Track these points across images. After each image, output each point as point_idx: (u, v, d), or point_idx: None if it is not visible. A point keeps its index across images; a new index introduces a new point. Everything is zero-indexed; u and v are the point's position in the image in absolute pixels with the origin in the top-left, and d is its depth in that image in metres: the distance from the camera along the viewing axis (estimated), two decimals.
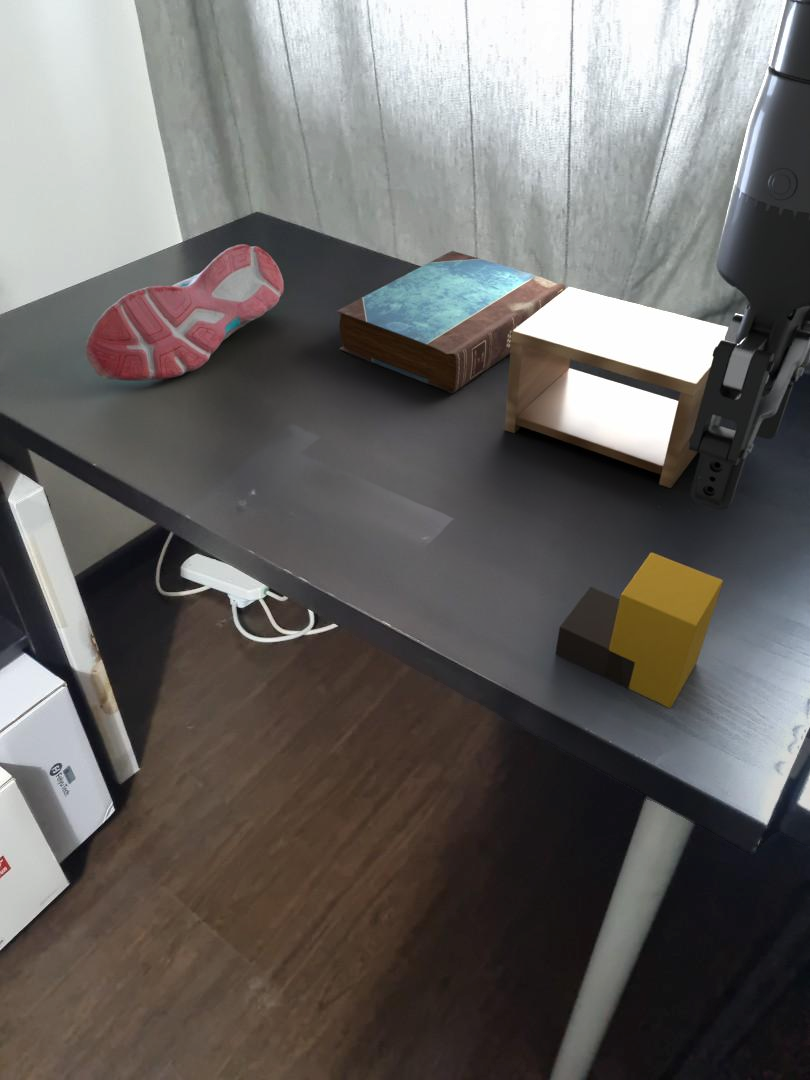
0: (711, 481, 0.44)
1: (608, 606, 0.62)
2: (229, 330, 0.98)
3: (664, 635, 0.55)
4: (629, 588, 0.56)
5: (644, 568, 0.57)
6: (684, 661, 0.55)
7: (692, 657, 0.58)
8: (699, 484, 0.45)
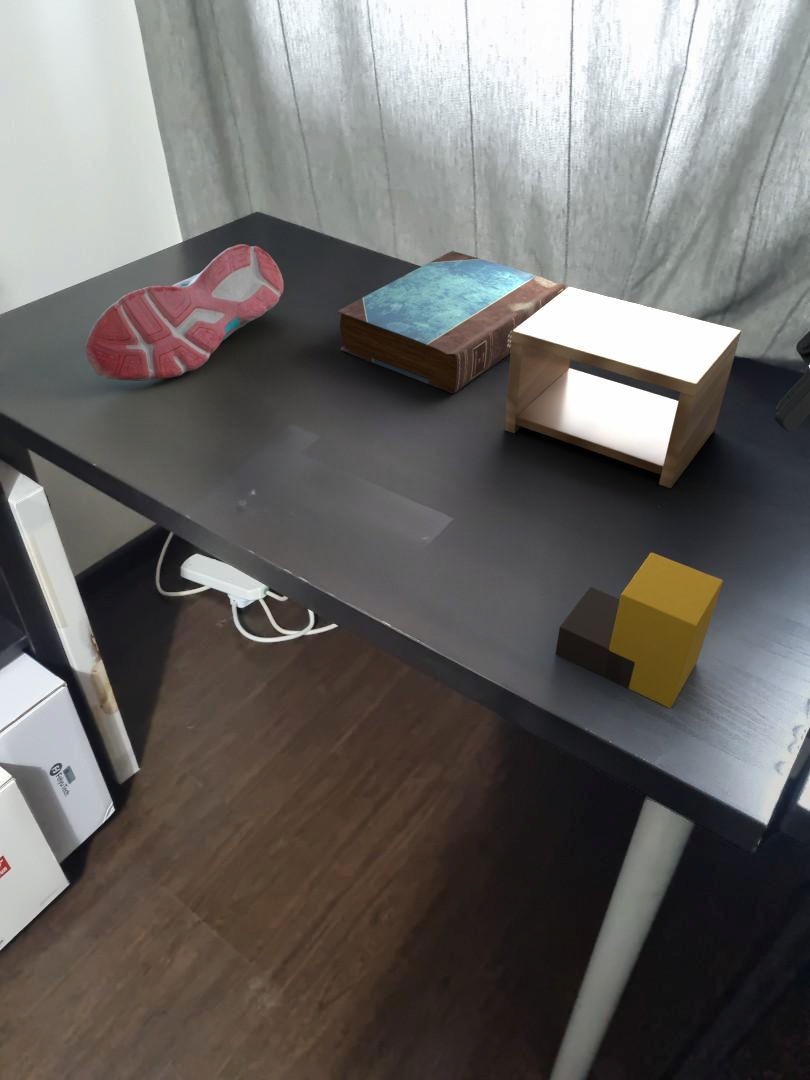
0: (792, 395, 0.58)
1: (608, 606, 0.62)
2: (229, 330, 0.99)
3: (664, 635, 0.55)
4: (629, 588, 0.56)
5: (644, 568, 0.57)
6: (684, 661, 0.55)
7: (692, 657, 0.58)
8: None
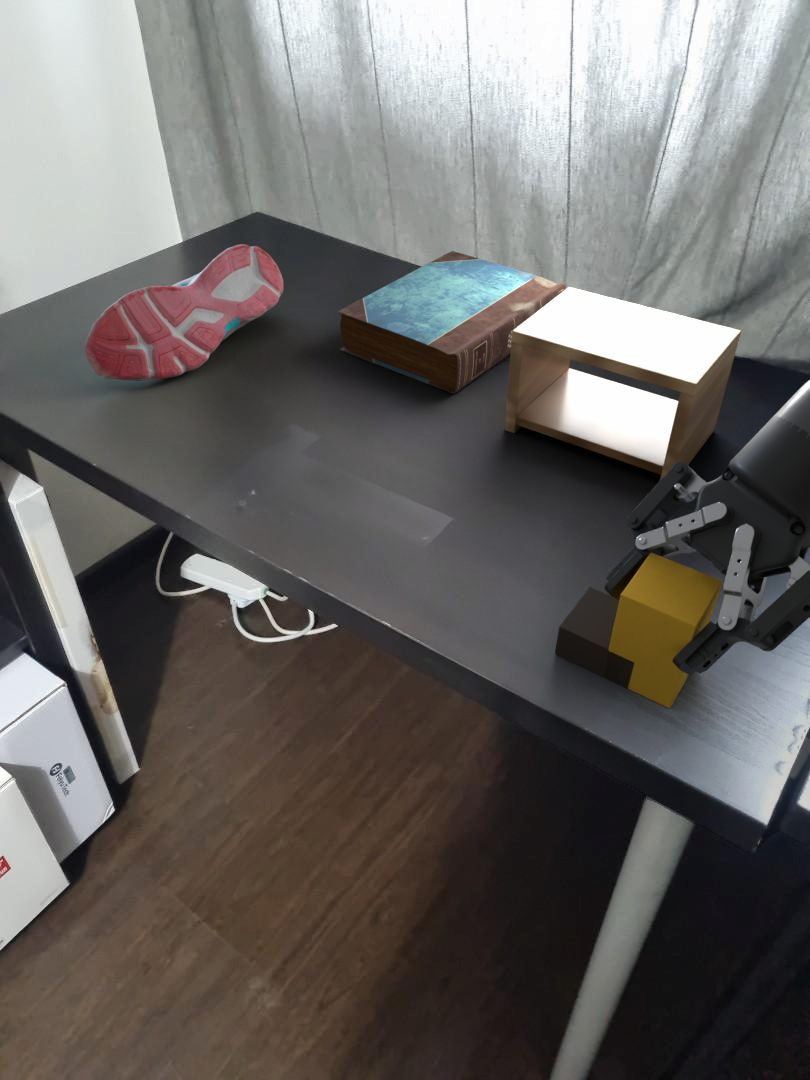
0: None
1: (608, 606, 0.62)
2: (228, 330, 0.99)
3: (664, 636, 0.55)
4: (629, 588, 0.56)
5: (644, 568, 0.57)
6: None
7: None
8: None
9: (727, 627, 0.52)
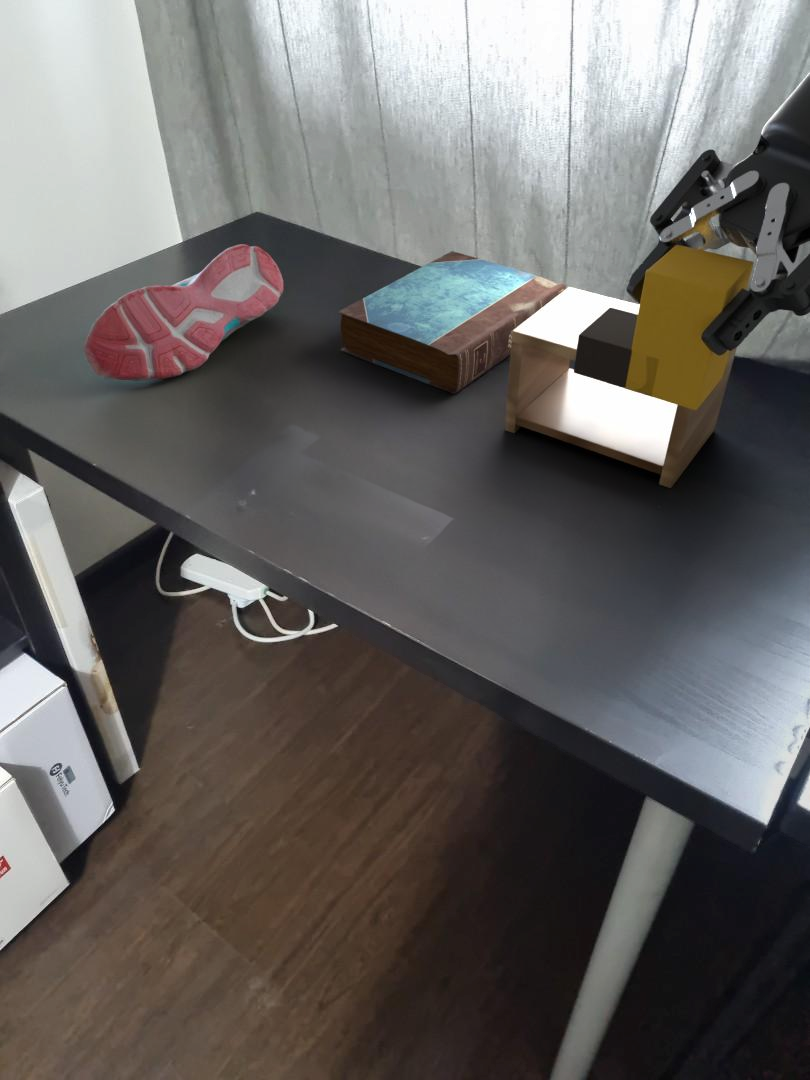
0: None
1: (629, 320, 0.59)
2: (228, 330, 0.99)
3: (692, 314, 0.52)
4: (654, 267, 0.52)
5: (669, 254, 0.54)
6: None
7: None
8: None
9: (760, 288, 0.49)
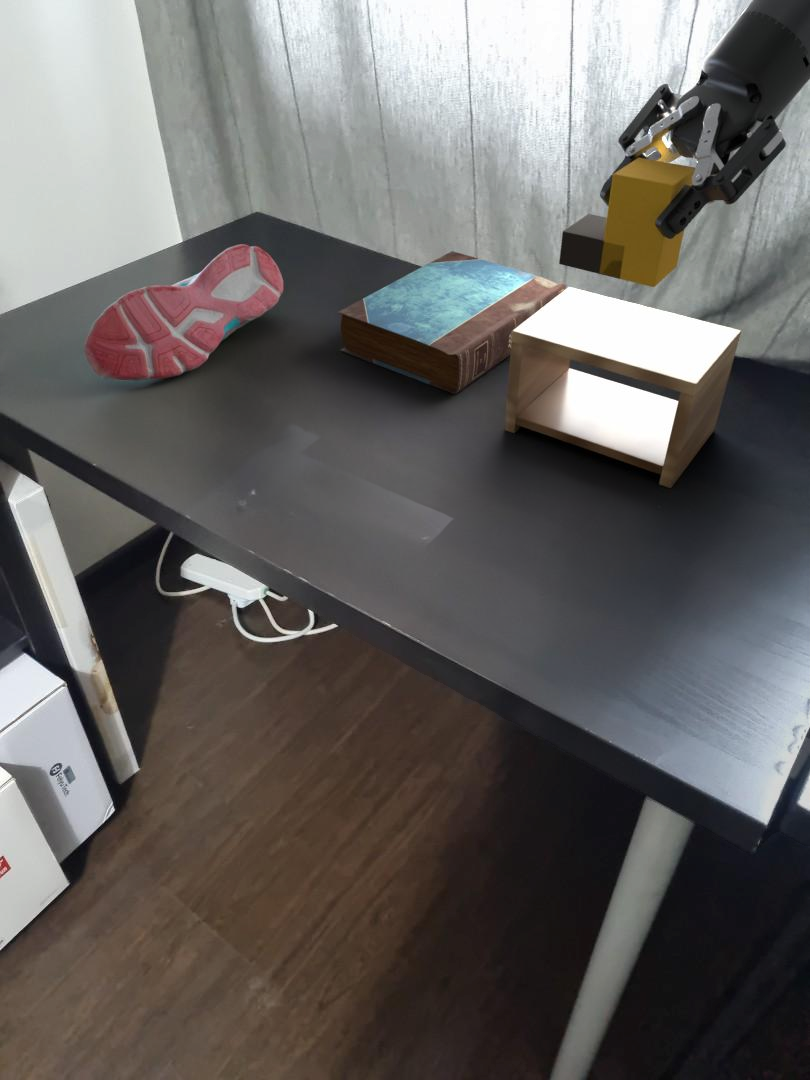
0: None
1: (603, 222, 0.74)
2: (228, 330, 0.99)
3: (648, 206, 0.67)
4: (619, 171, 0.68)
5: (632, 163, 0.69)
6: None
7: (672, 241, 0.70)
8: None
9: (699, 182, 0.65)
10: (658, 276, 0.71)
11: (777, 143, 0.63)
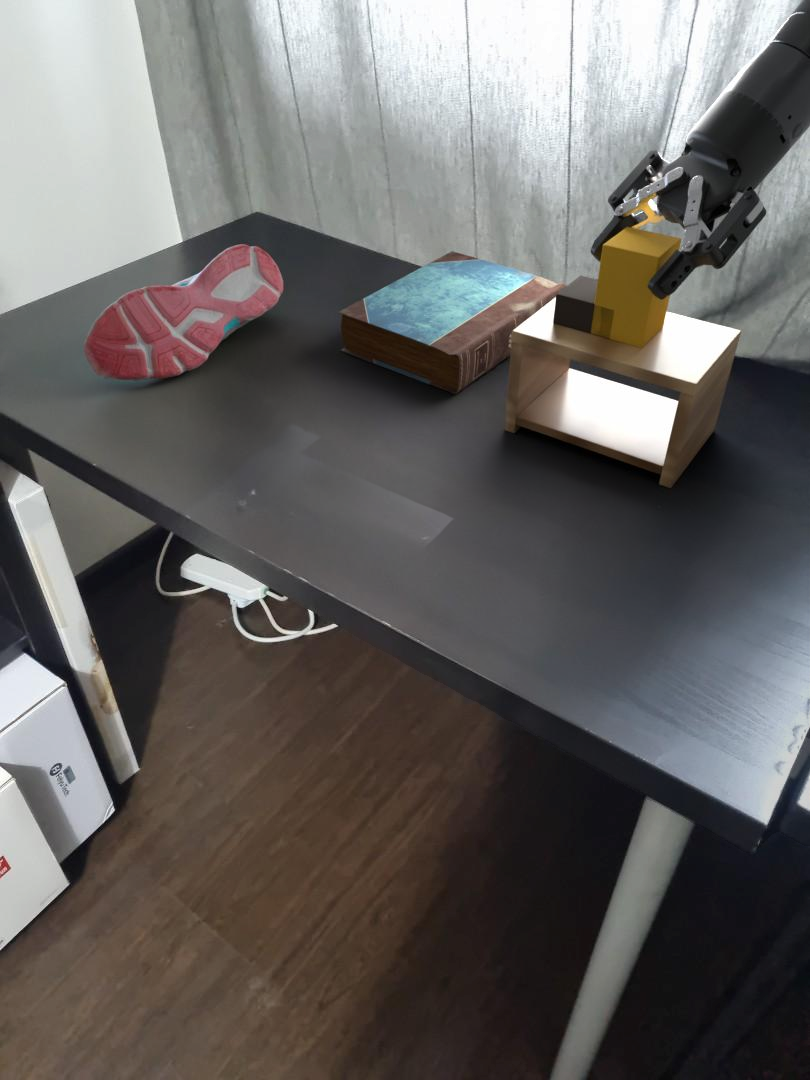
0: None
1: (594, 284, 0.79)
2: (228, 330, 0.99)
3: (636, 275, 0.72)
4: (609, 242, 0.73)
5: (621, 233, 0.74)
6: (651, 296, 0.72)
7: (658, 305, 0.75)
8: None
9: (688, 249, 0.69)
10: (645, 338, 0.75)
11: (759, 211, 0.67)
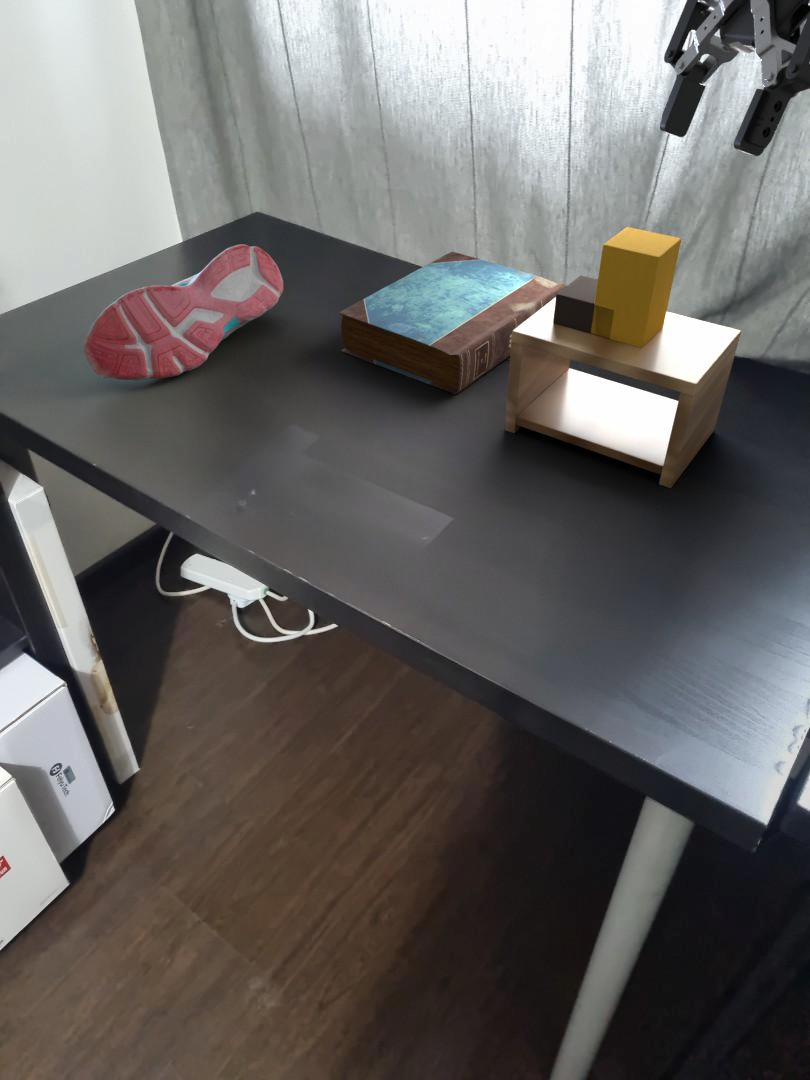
0: None
1: (594, 284, 0.79)
2: (228, 330, 0.99)
3: (636, 275, 0.72)
4: (609, 242, 0.73)
5: (621, 233, 0.74)
6: (651, 296, 0.72)
7: (658, 305, 0.75)
8: None
9: (770, 82, 0.54)
10: (645, 338, 0.75)
11: None
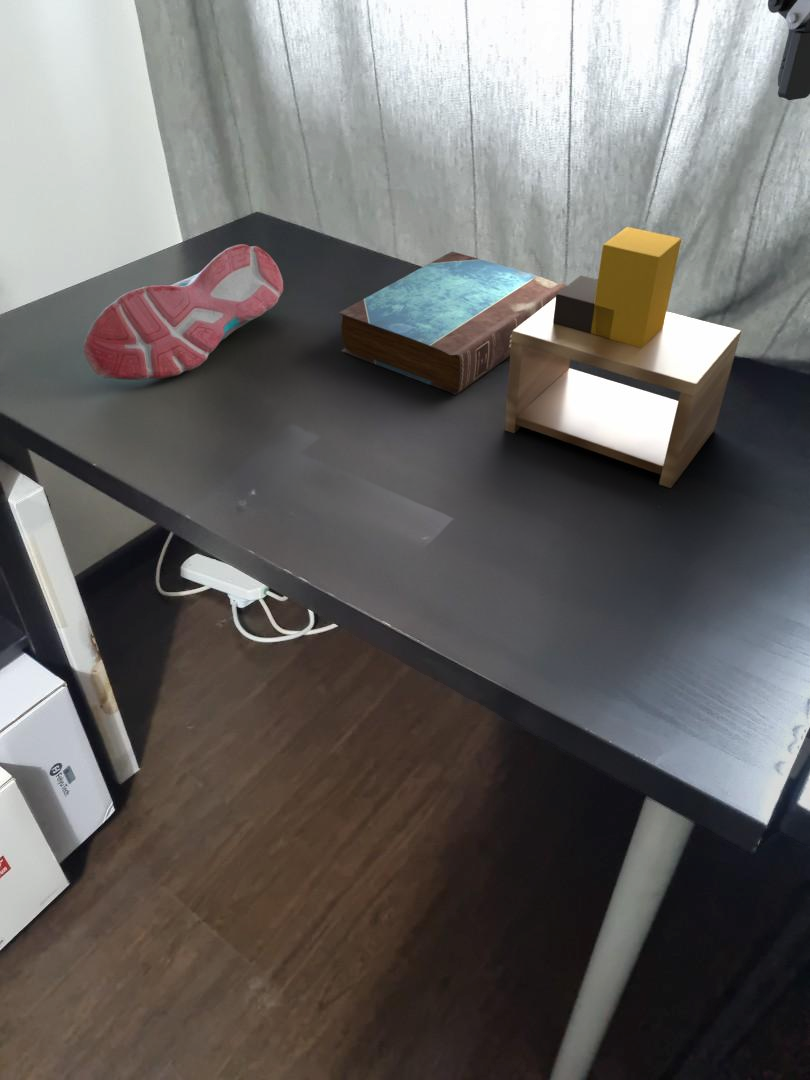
0: None
1: (594, 284, 0.79)
2: (228, 330, 0.99)
3: (636, 275, 0.72)
4: (609, 242, 0.73)
5: (621, 233, 0.74)
6: (651, 296, 0.72)
7: (658, 305, 0.75)
8: None
9: None
10: (645, 338, 0.75)
11: None
